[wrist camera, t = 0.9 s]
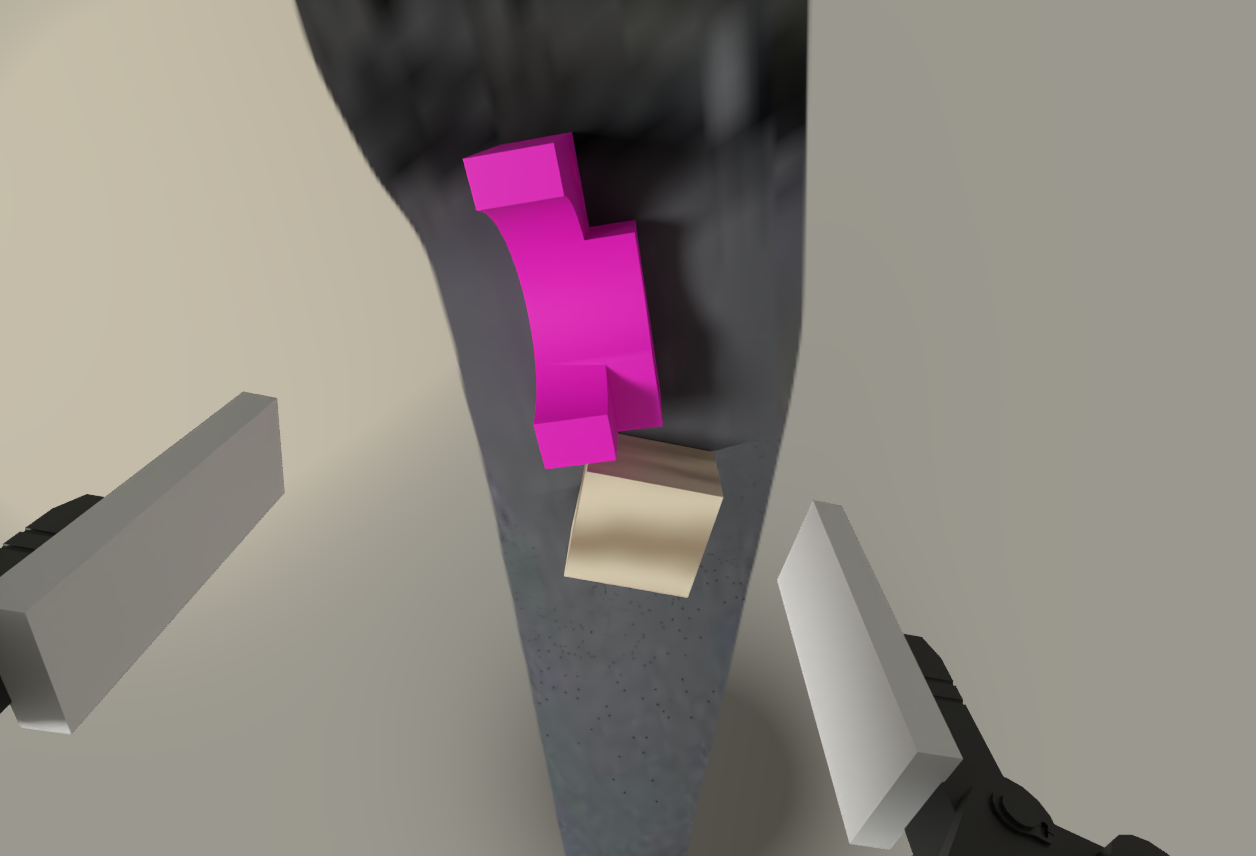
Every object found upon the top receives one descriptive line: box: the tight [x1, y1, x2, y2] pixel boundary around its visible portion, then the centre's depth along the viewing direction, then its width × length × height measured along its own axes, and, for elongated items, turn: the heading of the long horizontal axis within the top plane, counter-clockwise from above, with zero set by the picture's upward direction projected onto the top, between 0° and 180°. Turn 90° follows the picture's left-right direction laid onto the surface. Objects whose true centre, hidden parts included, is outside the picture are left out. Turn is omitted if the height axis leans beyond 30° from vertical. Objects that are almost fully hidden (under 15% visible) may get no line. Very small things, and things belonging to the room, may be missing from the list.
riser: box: [564, 434, 723, 598], centre depth 39 cm, size 8×8×5 cm
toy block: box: [463, 132, 663, 469], centre depth 31 cm, size 15×6×8 cm, turn 9°
